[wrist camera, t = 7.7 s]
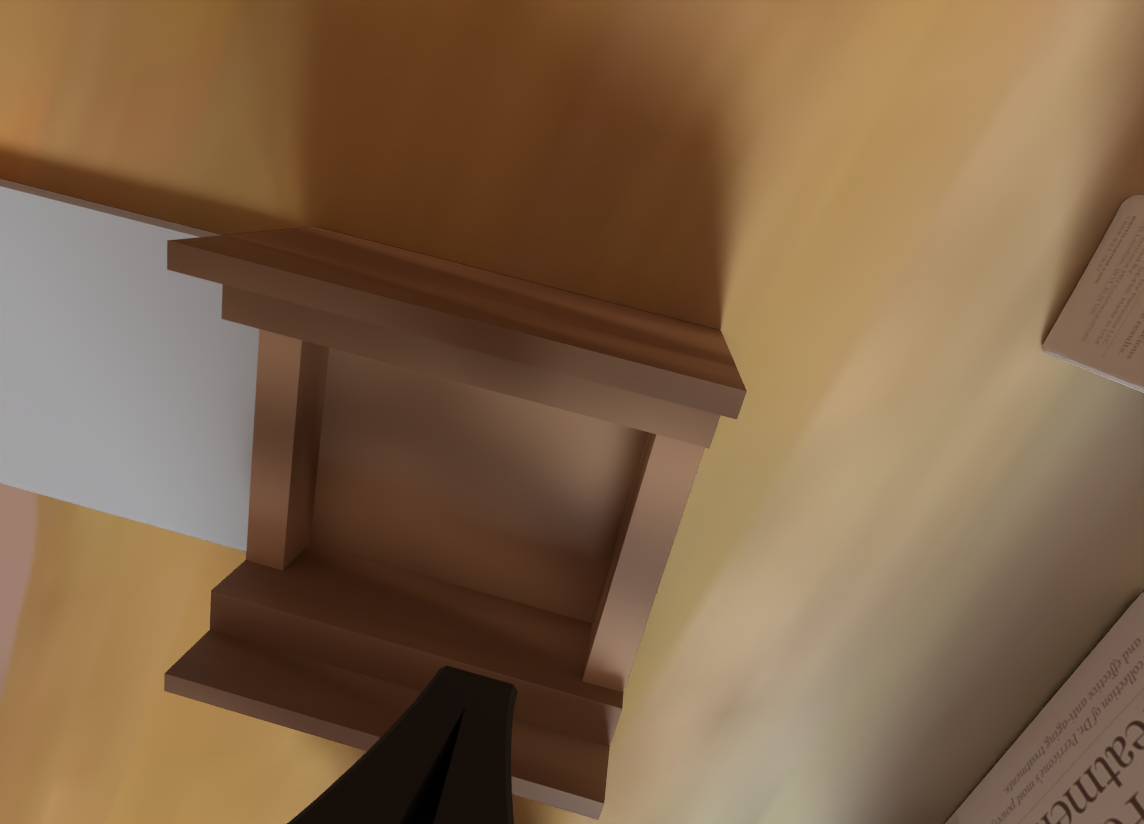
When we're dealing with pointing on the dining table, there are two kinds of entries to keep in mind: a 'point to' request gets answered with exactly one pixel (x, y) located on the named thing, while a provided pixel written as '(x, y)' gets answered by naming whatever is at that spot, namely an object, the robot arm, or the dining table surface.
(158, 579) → the dining table surface
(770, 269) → the dining table surface
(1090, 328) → the skincare box
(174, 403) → the lid
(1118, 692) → the skincare box
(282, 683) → the case
